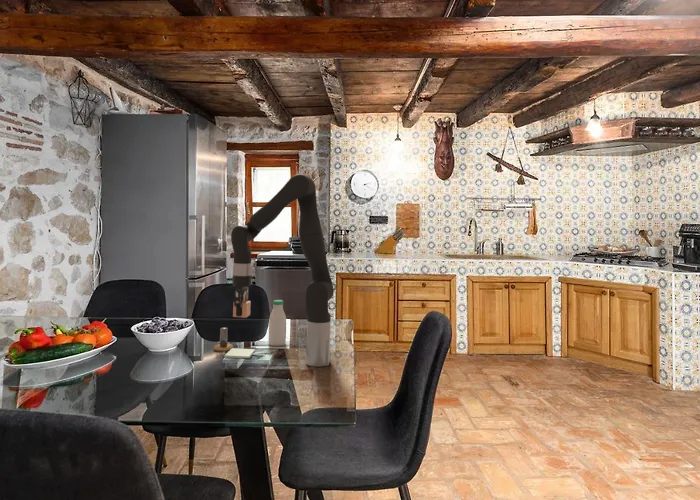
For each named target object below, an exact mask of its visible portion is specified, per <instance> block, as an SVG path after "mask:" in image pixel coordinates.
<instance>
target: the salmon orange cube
mask: <svg viewBox="0 0 700 500" xmlns="http://www.w3.org/2000/svg"><path fill="white" fill-rule="evenodd" d="M238 303H239V302H238ZM232 308H233V309H232V317H233V318H248V317H249V316H251V300H248V301H244V302H243V303H242V316H236V306H234V302H233V307H232Z"/></svg>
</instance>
